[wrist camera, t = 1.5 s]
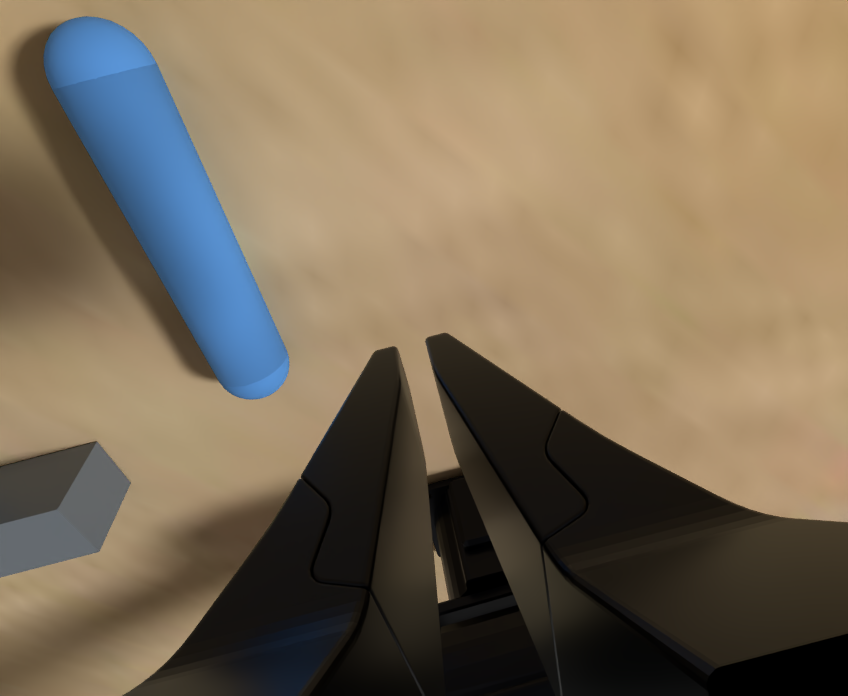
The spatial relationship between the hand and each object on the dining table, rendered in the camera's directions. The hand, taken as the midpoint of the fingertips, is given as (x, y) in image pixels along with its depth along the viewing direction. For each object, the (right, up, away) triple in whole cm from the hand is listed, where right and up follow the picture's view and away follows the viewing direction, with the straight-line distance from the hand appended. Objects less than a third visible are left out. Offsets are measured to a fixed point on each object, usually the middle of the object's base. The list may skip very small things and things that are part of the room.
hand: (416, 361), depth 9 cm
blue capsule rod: (-9, +5, +10) cm, 14 cm away
